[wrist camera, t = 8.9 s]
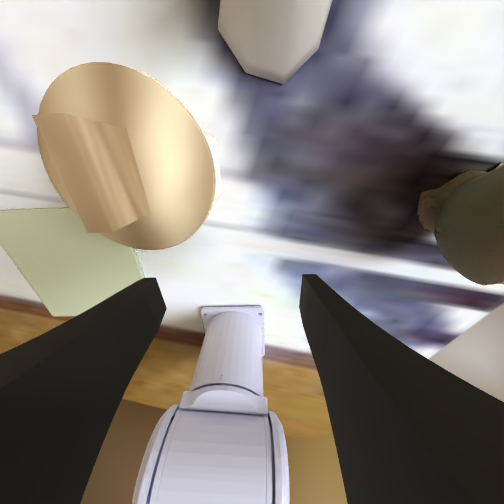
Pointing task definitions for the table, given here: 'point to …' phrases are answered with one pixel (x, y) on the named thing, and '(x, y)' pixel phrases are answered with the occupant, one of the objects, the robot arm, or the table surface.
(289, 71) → the flask
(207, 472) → the robot arm
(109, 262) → the mat
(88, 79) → the lid
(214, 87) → the table surface
